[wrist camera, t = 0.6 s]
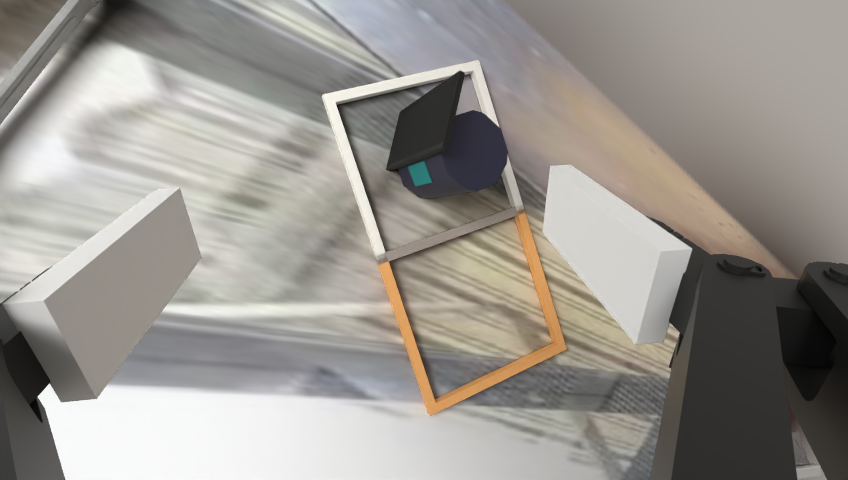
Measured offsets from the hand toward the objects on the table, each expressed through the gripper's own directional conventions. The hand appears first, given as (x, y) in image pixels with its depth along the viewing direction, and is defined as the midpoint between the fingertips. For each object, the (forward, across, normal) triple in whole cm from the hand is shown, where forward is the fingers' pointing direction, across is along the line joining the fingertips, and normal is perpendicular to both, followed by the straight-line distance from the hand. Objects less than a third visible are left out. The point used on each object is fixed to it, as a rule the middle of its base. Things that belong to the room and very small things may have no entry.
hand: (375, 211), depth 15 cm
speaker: (+22, +4, -5) cm, 23 cm away
